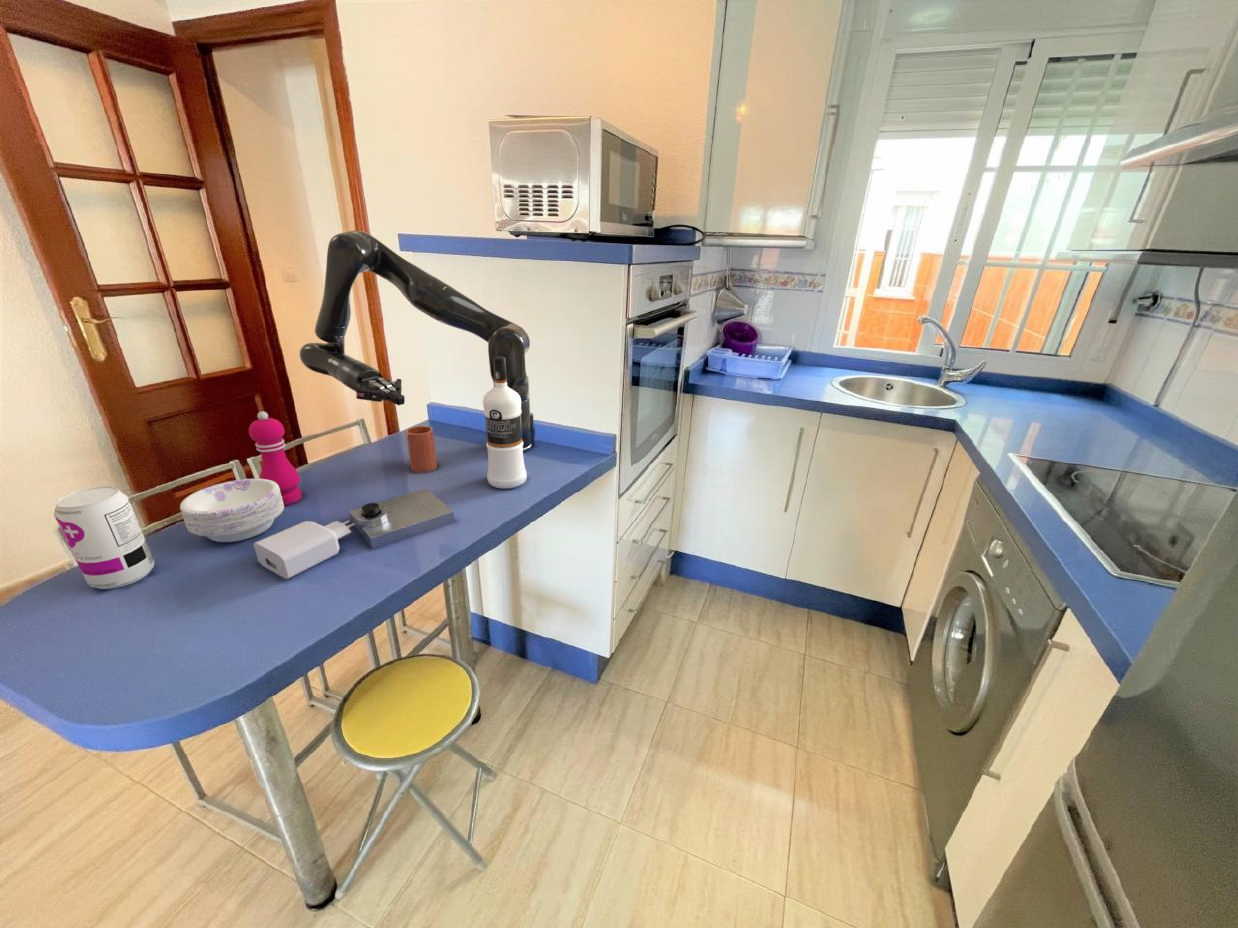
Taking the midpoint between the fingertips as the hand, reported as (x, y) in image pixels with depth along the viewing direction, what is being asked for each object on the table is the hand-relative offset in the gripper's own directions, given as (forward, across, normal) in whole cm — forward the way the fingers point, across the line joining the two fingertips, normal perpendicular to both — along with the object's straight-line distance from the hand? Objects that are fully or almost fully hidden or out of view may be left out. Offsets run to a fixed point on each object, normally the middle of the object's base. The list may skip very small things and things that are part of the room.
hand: (401, 401), depth 123 cm
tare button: (+25, -25, +7) cm, 37 cm away
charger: (+24, -36, +11) cm, 45 cm away
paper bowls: (+6, -40, +15) cm, 43 cm away
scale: (+27, -20, +11) cm, 36 cm away
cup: (+9, -1, +15) cm, 17 cm away
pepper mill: (0, -29, +16) cm, 33 cm away
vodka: (+31, +6, +10) cm, 33 cm away
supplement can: (+6, -58, +15) cm, 60 cm away
